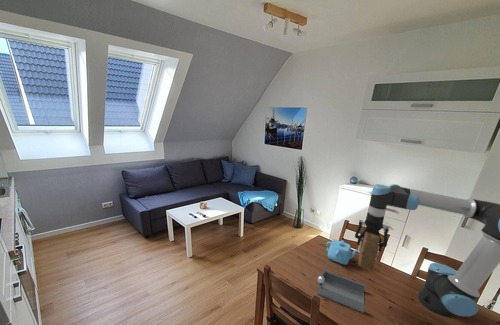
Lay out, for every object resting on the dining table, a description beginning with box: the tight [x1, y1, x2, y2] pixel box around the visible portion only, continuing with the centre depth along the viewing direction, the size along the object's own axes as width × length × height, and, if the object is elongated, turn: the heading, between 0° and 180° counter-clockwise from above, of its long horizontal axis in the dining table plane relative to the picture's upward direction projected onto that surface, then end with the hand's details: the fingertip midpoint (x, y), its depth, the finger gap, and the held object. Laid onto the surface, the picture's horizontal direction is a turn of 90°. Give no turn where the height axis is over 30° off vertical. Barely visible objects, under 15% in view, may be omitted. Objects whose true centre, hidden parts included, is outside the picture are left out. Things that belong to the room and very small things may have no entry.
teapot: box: [326, 239, 358, 266], centre depth 151 cm, size 18×16×14 cm
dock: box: [317, 267, 366, 314], centre depth 121 cm, size 25×17×10 cm
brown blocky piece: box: [357, 230, 381, 271], centre depth 113 cm, size 11×8×20 cm
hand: (367, 253), depth 114 cm, fingers closed on brown blocky piece, 7 cm apart
